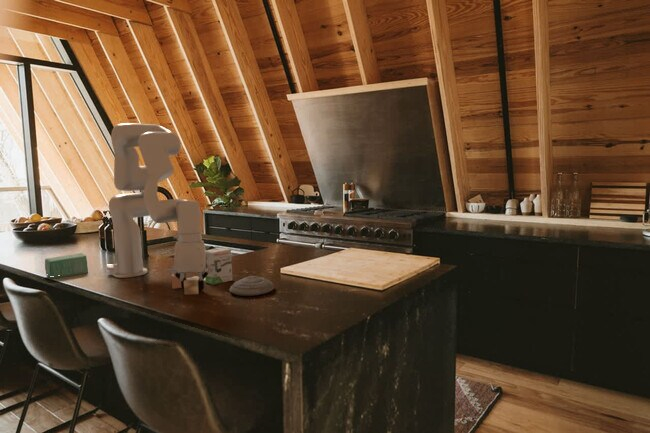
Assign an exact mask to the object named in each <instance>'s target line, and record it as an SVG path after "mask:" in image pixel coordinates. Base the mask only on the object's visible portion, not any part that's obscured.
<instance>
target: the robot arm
mask: <svg viewBox="0 0 650 433" xmlns="http://www.w3.org/2000/svg"><path fill="white" fill-rule="evenodd" d="M110 137H111V145H112V148H113V153H114V160H113V161H114V166H113V167H114V169H113V170H114V171H113V183H114V187H115V189H116V190H118V191H120V192H131V193H121V194H116V195H114V196H112V197H111V198H110V199H109V201H108V209H109V213H110V217H111V220H112V228H113V239H114V250H115V251H114V252H115V262H116V263H115V264H109V263H108V264H107V265H106V269H107V271H111V270H112V271H114V272H112V276H113V277H114V278H119V279H122V278H125V279H126V278H134V277H139V276H143V275H147V274H148V268H147V267H144V262H143V250H142V248H143V247H142V238H141V236H142V235H141V228H140V226H139V224H138V223H137V222H136V221H135V218H142V217H143V218H144V217H150V218H151V220H152V221H153V222H154V223H157V224H165V223H172V222H176V227H177V228H176V229H177V233H176V234H173V239H174V240H177V241H176V242H175V244H174V257H173V258H174V260H173V261H174V262H173V263H174V264H173V265H172V267H171V268H170V270H169V272H170V274H171V275H172V274H174V275H175V276H176V277H177V278H178V279H180V281H181V288H180V289H181V290H182V292H183V294H184V280H186V279H187V277H186V276H187V274H197V276H198V277H199V281H198V288H199V294H201V293H202V292H203V290H204V289H205V282H204V278H205V277H206V276H207V275H208V274H209V273H211V272H212V271H213V270H214V269H213V268H212V266H211V265H210V264H209V263H208V261H207V254H206V250H207V248H206V245H205V241H204V240H202V239H203V238H202V224H201V221H202V220H201V209H200V208H201V205H200V203H199V201H198V200H194V199H192V200H190V199H186V198H175V199H173V198H172V199H171V198H169V199H162V200H160V199H159V196H158V188H159V187H158V185H159V183H161V182H163V181H166V180H167V179H169V178H170V177H171V176H173V174H174V173H175V169H174V166H173V163H172V160H171V158H170V157H171V156H177V155H178V154H180V152H181V146H182V145H181V141H180V138H179V137H178V135H177V134H176V133H174V132H173V131H171V130H170V129H167V128H166V127H164V126H161V125H159V124H155V123H135V122H134V123H133V122H126V123H125V122H124V123H118V124H116V125H114V127H113V128H112V129H111V134H110ZM136 148H139V151H140V153H141V157H142V159H143V163H144V165H140V156H139V152H138V150H137V149H136ZM135 191H137V192H135ZM138 191H140V192H138ZM133 192H134V193H133ZM206 268H207V269H208V270H207V271H206V272H205V269H206Z"/></svg>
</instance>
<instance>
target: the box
mask: <svg viewBox="0 0 650 433" xmlns="http://www.w3.org/2000/svg"><path fill="white" fill-rule="evenodd" d="M88 268H89V267H88V260H87V255H86V254H83V253H80V252H79V253H74V254H67V255H61V256H56V257H48V258H45V260H44V270H45V274H46V276H47V277H48V278H49V279H51V280H57V279H62V278H68V277H69V278H70V277H73V276H78V275H79V276H80V275H84V274H88V273H89V269H88ZM47 274H48V275H47ZM58 275H60V276H58ZM50 276H54V277H50Z"/></svg>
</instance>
